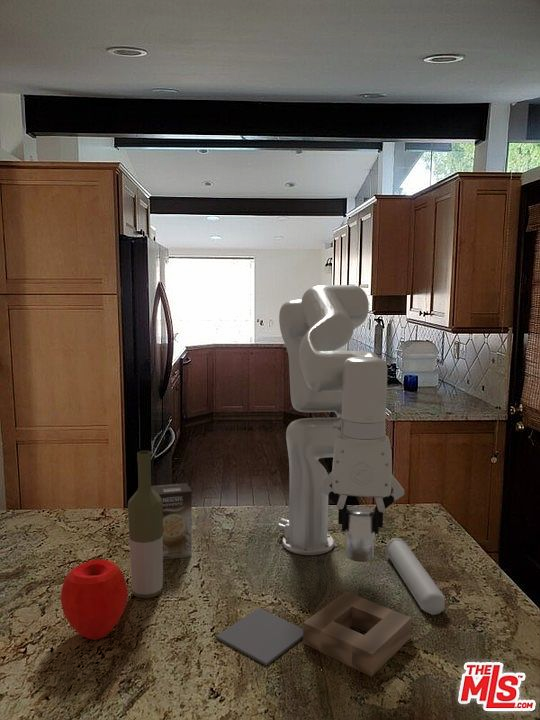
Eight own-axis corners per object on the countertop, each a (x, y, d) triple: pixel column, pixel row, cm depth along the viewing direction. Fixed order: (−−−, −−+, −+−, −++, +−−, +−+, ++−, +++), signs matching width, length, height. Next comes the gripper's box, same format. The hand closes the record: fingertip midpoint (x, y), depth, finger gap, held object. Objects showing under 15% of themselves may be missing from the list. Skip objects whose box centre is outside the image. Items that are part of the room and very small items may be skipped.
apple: (76, 613, 115) (73, 548, 113) (136, 615, 114) (134, 549, 113) (51, 651, 103) (48, 579, 101) (118, 653, 103) (116, 581, 101)
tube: (454, 599, 114) (410, 541, 139) (429, 592, 113) (389, 535, 138) (444, 623, 115) (402, 561, 139) (419, 616, 114) (382, 555, 138)
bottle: (171, 588, 124) (168, 450, 120) (151, 604, 118) (147, 459, 114) (143, 581, 127) (140, 445, 123) (122, 596, 121) (118, 454, 117)
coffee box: (153, 562, 136) (151, 495, 134) (149, 550, 142) (148, 485, 140) (192, 556, 139) (191, 490, 137) (187, 544, 145) (186, 481, 143)
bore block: (303, 643, 106) (303, 622, 105) (345, 610, 116) (345, 591, 116) (371, 677, 97) (372, 654, 96) (410, 638, 108) (411, 617, 107)
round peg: (339, 555, 104) (340, 512, 103) (354, 546, 108) (355, 504, 107) (364, 564, 101) (365, 520, 100) (378, 554, 105) (380, 511, 104)
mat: (215, 638, 107) (215, 635, 107) (259, 610, 116) (259, 607, 116) (266, 665, 100) (266, 663, 100) (308, 633, 109) (308, 631, 109)
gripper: (311, 431, 99) (309, 534, 102) (415, 437, 96) (411, 542, 99) (315, 421, 107) (314, 517, 109) (412, 425, 104) (408, 524, 106)
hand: (360, 528), depth 104 cm, fingers closed on round peg, 5 cm apart
